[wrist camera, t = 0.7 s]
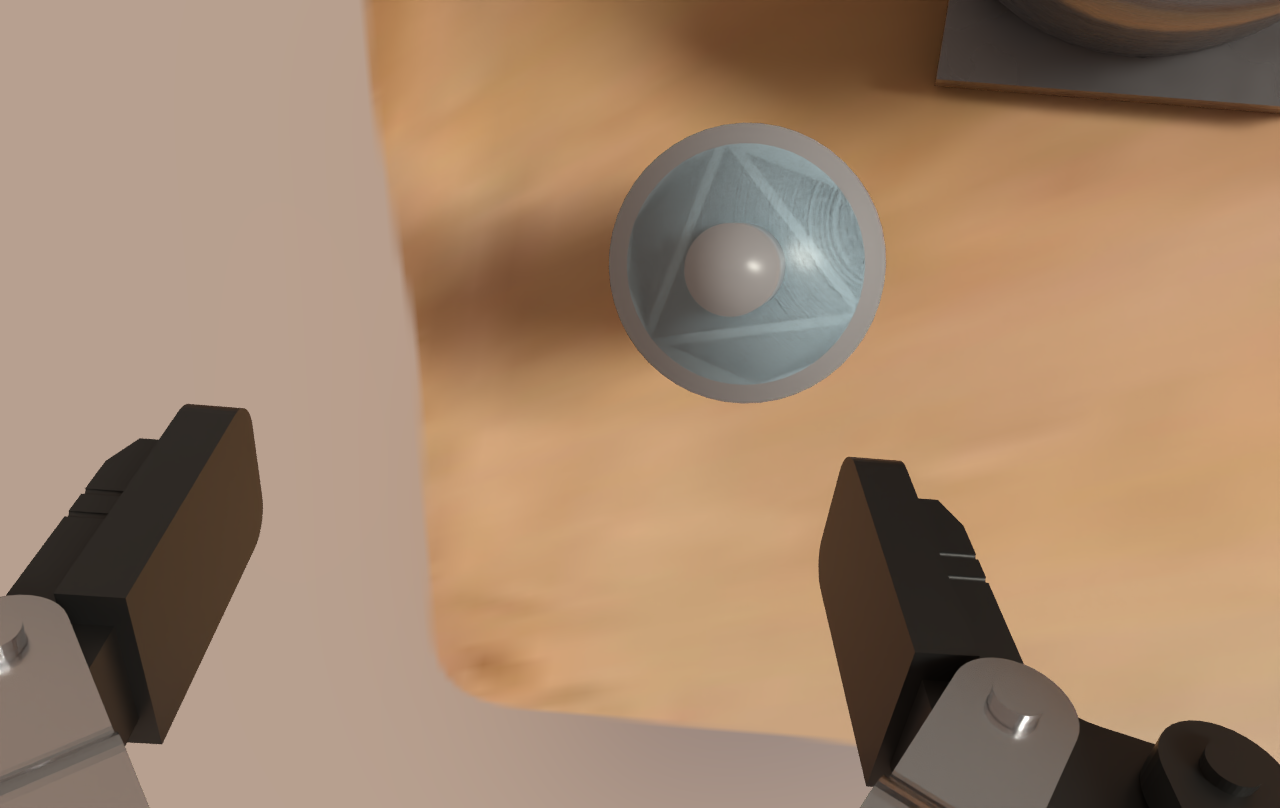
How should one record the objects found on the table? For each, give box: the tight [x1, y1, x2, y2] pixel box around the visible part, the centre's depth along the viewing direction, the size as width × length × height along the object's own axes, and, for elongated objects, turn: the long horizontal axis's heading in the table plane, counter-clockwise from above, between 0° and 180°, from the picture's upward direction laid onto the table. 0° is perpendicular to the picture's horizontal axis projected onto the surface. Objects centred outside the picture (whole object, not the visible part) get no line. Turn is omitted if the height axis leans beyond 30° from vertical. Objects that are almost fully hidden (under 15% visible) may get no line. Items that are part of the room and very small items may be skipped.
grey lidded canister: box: [609, 123, 886, 403], centre depth 26 cm, size 6×6×14 cm
